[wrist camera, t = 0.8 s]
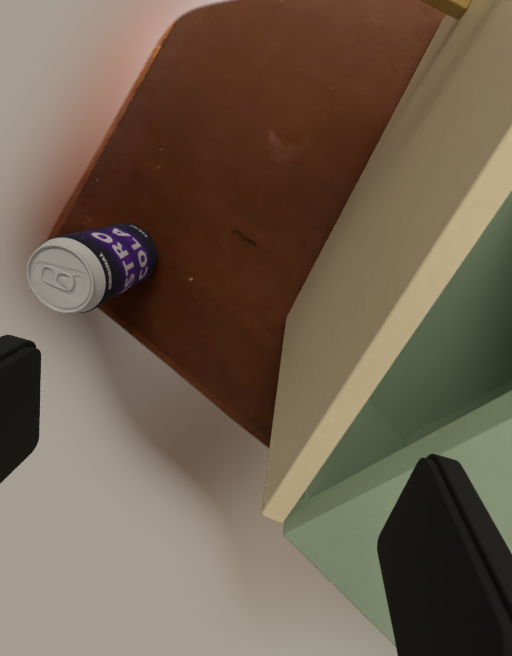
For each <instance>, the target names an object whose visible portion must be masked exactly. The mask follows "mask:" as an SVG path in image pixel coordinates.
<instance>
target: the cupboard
mask: <svg viewBox="0 0 512 656" xmlns="http://www.w3.org/2000/svg"><path fill="white" fill-rule="evenodd" d="M430 454H436V455H440V456H444V457H447V458H451V459H454V460H457V461H459V462H460V464H461V465H462V467H463V469H464V470H465V472H466V474H467V476H468V477H469V479H470V481H471V483H472V484H473V486H474V488H475V490H476V491H477V493H478V495H479V497H480V499H481V500H482V502H483V504H484V506H485V507H486V509H487V511H488V513H489V514H490V516H491V518H492V520H493V522H494V523H495V525H496V527H497V529H498V530H499V532H500V534H501V536H502V537H503V539H504V541H505V543H506V544H507V546H508V548H509V550H510V552H511V553H512V191H511V192H510V194H509V195H508V197H507V198H506V200H505V201H504V203H503V204H502V205H501V207H500V208H499V210H498V211H497V213H496V214H495V216H494V217H493V219H492V220H491V221H490V223H489V224H488V226H487V227H486V229H485V230H484V232H483V233H482V235H481V236H480V237H479V239H478V240H477V242H476V243H475V245H474V246H473V248H472V249H471V251H470V252H469V253H468V255H467V256H466V258H465V259H464V261H463V262H462V264H461V265H460V266H459V268H458V269H457V271H456V272H455V274H454V275H453V277H452V278H451V280H450V281H449V282H448V284H447V285H446V287H445V288H444V290H443V291H442V293H441V294H440V296H439V297H438V298H437V300H436V301H435V303H434V304H433V306H432V307H431V309H430V310H429V312H428V313H427V314H426V316H425V317H424V319H423V320H422V322H421V323H420V325H419V326H418V327H417V329H416V330H415V332H414V333H413V335H412V336H411V338H410V339H409V341H408V342H407V343H406V345H405V346H404V348H403V349H402V351H401V352H400V354H399V355H398V357H397V358H396V359H395V361H394V362H393V364H392V365H391V367H390V368H389V370H388V371H387V373H386V374H385V375H384V377H383V378H382V380H381V381H380V383H379V384H378V386H377V387H376V389H375V390H374V391H373V393H372V394H371V396H370V397H369V399H368V400H367V402H366V403H365V404H364V406H363V407H362V409H361V410H360V412H359V413H358V415H357V416H356V418H355V419H354V420H353V422H352V423H351V425H350V426H349V428H348V429H347V431H346V432H345V434H344V435H343V436H342V438H341V439H340V441H339V442H338V444H337V445H336V447H335V448H334V450H333V451H332V452H331V454H330V455H329V457H328V458H327V460H326V461H325V463H324V464H323V465H322V467H321V468H320V470H319V471H318V473H317V474H316V476H315V477H314V479H313V480H312V481H311V483H310V484H309V486H308V487H307V489H306V490H305V492H304V493H303V495H302V496H301V497H300V499H299V500H298V502H297V503H296V505H295V506H294V508H293V509H292V511H291V512H290V513H289V515H288V516H287V518H286V519H285V521H284V532H283V535H284V536H285V537H286V538H287V539H288V540H289V541H290V542H291V543H292V544H293V545H294V546H295V547H296V548H297V549H298V550H299V551H300V552H301V553H302V554H303V555H304V556H305V557H306V558H307V559H308V560H309V561H310V562H311V563H312V564H313V565H314V566H315V567H316V568H317V569H318V570H319V571H320V572H321V573H322V574H323V575H324V576H325V577H326V578H327V579H328V580H329V581H330V582H331V583H332V584H333V585H334V586H335V587H336V588H337V589H338V590H339V591H340V592H341V593H342V594H343V595H344V596H345V597H346V598H347V599H348V600H349V601H350V602H351V603H352V604H353V605H354V606H355V607H356V608H357V609H358V610H359V611H360V612H361V613H362V614H363V615H364V616H365V617H366V618H367V619H369V621H370V622H372V624H373V625H375V627H376V628H377V629H379V630H380V631H381V632H382V633H383V634H384V635H385V636H386V637H387V638H388V639H389V640H390V641H391V642H392V643H393V644H394V645H395V646H396V643H395V638H394V633H393V628H392V623H391V618H390V613H389V608H388V603H387V598H386V593H385V588H384V583H383V578H382V573H381V568H380V563H379V558H378V553H377V541H378V537H379V535H380V533H381V531H382V529H383V527H384V525H385V523H386V521H387V519H388V517H389V515H390V513H391V512H392V510H393V508H394V506H395V504H396V502H397V500H398V498H399V496H400V494H401V493H402V491H403V489H404V487H405V485H406V483H407V481H408V479H409V477H410V475H411V473H412V472H413V470H414V468H415V466H416V464H417V462H418V461H419V459H420V458H423V457H424V458H427V456H428V455H430Z"/></svg>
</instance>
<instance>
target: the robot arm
mask: <svg viewBox="0 0 512 656" xmlns="http://www.w3.org/2000/svg"><path fill="white" fill-rule="evenodd" d="M40 374H41V353H40V351H39V350H38V349H36V345H35V343H34V342H32V341H29V340H26V339H23V338H18V337H15V336H12V335H5V336H2V337H0V483H1V482H2V481H3V480H4V479H5V478H6V477H7V476H8V475H9V474H10V473H11V472H12V471H13V470H14V469H15V468H17V467H18V466H19V465H20V464H21V463H22V462H23V461H24V460H25V459H26V458H27V457H28V456H29V455H30V454H31V453H32V452H33V450H34V449H35V447H36V445H37V443H38V440H39V418H40ZM377 553H378V558H379V563H380V568H381V573H382V578H383V583H384V588H385V593H386V598H387V603H388V608H389V613H390V618H391V623H392V628H393V633H394V638H395V643H396V648H397V653H398V656H512V553H511V552H510V550H509V548H508V546H507V544H506V543H505V541H504V539H503V537H502V536H501V534H500V532H499V530H498V529H497V527H496V525H495V523H494V522H493V520H492V518H491V516H490V514H489V513H488V511H487V509H486V507H485V506H484V504H483V502H482V500H481V499H480V497H479V495H478V493H477V491H476V490H475V488H474V486H473V484H472V483H471V481H470V479H469V477H468V476H467V474H466V472H465V470H464V469H463V467H462V465H461V464H460V462H459V461H457V460H454V459H451V458H447V457H444V456H440V455H436V454H430V455H428V456H427V458H424V457H423V458H420V459H419V461H418V462H417V464H416V466H415V468H414V470H413V472H412V473H411V475H410V477H409V479H408V481H407V483H406V485H405V487H404V489H403V491H402V493H401V494H400V496H399V498H398V500H397V502H396V504H395V506H394V508H393V510H392V512H391V513H390V515H389V517H388V519H387V521H386V523H385V525H384V527H383V529H382V531H381V533H380V535H379V537H378V541H377Z"/></svg>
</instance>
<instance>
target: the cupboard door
mask: <svg viewBox="0 0 512 656" xmlns="http://www.w3.org/2000/svg"><path fill="white" fill-rule="evenodd" d="M420 1H422V2H424V3H426V4H428V5H430V6H432V7H434V8H436V9H438V10H439V11H441V12H443V13H445V14H447V15H446V16H445V17H444V18H443V20H442V22H441V23H440V25H439V27H438V29H437V31H436V33H435V35H434V37H433V39H432V41H431V43H430V44H429V46H428V48H427V50H426V52H425V54H424V56H423V58H422V60H421V62H420V64H419V65H418V67H417V69H416V71H415V73H414V75H413V77H412V79H411V81H410V83H409V85H408V86H407V88H406V90H405V92H404V94H403V96H402V98H401V100H400V102H399V104H398V106H397V107H396V109H395V111H394V113H393V115H392V117H391V119H390V121H389V123H388V125H387V127H386V128H385V130H384V132H383V134H382V136H381V138H380V140H379V142H378V144H377V146H376V148H375V149H374V151H373V153H372V155H371V157H370V159H369V161H368V163H367V165H366V167H365V169H364V170H363V172H362V174H361V176H360V178H359V180H358V182H357V184H356V186H355V188H354V190H353V191H352V193H351V195H350V197H349V199H348V201H347V203H346V205H345V207H344V209H343V211H342V212H341V214H340V216H339V218H338V220H337V222H336V224H335V226H334V228H333V230H332V232H331V233H330V235H329V237H328V239H327V241H326V243H325V245H324V247H323V249H322V251H321V253H320V254H319V256H318V258H317V260H316V262H315V264H314V266H313V268H312V270H311V272H310V274H309V275H308V277H307V279H306V281H305V283H304V285H303V287H302V289H301V291H300V293H299V294H298V296H297V298H296V300H295V302H294V304H293V306H292V308H291V310H290V312H289V314H288V315H287V317H286V324H285V332H284V340H283V348H282V355H281V363H280V371H279V379H278V386H277V394H276V402H275V410H274V417H273V425H272V433H271V441H270V448H269V457H268V464H267V472H266V480H265V487H264V495H263V503H262V510H261V515H262V516H265V517H267V518H269V519H271V520H274V521H276V522H278V523H280V524H282V523H283V522H284V521H285V519H286V518H287V516H288V515H289V513H290V512H291V511H292V509H293V508H294V506H295V505H296V503H297V502H298V500H299V499H300V497H301V496H302V495H303V493H304V492H305V490H306V489H307V487H308V486H309V484H310V483H311V481H312V480H313V479H314V477H315V476H316V474H317V473H318V471H319V470H320V468H321V467H322V465H323V464H324V463H325V461H326V460H327V458H328V457H329V455H330V454H331V452H332V451H333V450H334V448H335V447H336V445H337V444H338V442H339V441H340V439H341V438H342V436H343V435H344V434H345V432H346V431H347V429H348V428H349V426H350V425H351V423H352V422H353V420H354V419H355V418H356V416H357V415H358V413H359V412H360V410H361V409H362V407H363V406H364V404H365V403H366V402H367V400H368V399H369V397H370V396H371V394H372V393H373V391H374V390H375V389H376V387H377V386H378V384H379V383H380V381H381V380H382V378H383V377H384V375H385V374H386V373H387V371H388V370H389V368H390V367H391V365H392V364H393V362H394V361H395V359H396V358H397V357H398V355H399V354H400V352H401V351H402V349H403V348H404V346H405V345H406V343H407V342H408V341H409V339H410V338H411V336H412V335H413V333H414V332H415V330H416V329H417V327H418V326H419V325H420V323H421V322H422V320H423V319H424V317H425V316H426V314H427V313H428V312H429V310H430V309H431V307H432V306H433V304H434V303H435V301H436V300H437V298H438V297H439V296H440V294H441V293H442V291H443V290H444V288H445V287H446V285H447V284H448V282H449V281H450V280H451V278H452V277H453V275H454V274H455V272H456V271H457V269H458V268H459V266H460V265H461V264H462V262H463V261H464V259H465V258H466V256H467V255H468V253H469V252H470V251H471V249H472V248H473V246H474V245H475V243H476V242H477V240H478V239H479V237H480V236H481V235H482V233H483V232H484V230H485V229H486V227H487V226H488V224H489V223H490V221H491V220H492V219H493V217H494V216H495V214H496V213H497V211H498V210H499V208H500V207H501V205H502V204H503V203H504V201H505V200H506V198H507V197H508V195H509V194H510V192H511V191H512V0H420Z"/></svg>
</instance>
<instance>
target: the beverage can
mask: <svg viewBox="0 0 512 656" xmlns="http://www.w3.org/2000/svg"><path fill="white" fill-rule="evenodd" d="M156 264H157V250H156V246H155V244H154V242H153V240H152V238H151V237H150V236H149V235H148V233H147V232H145V231H144V230H143V229H142V228H140V227H138V226H136V225H133V224H128V223H122V224H116V225H112V226H107V227H102V228H97V229H92V230H87V231H82V232H77V233H72V234H67V235H62V236H57V237H53V238H51V239H49V240H47V241H45V242H44V243H43V244H42V245H41V246H40V247H39V248H38V249H37V250H36V251H34V253H33V254H32V255H31V257H30V258H29V261H28V264H27V278H28V282H29V285H30V287H31V289H32V291H33V293H34V294H35V296H36V297H37V298H38V299H39V300H40V301H41V302H42V303H43V304H44V305H46V306H47V307H48V308H50V309H52V310H55V311H57V312H61V313H83V312H88V311H91V310H93V309H95V308H96V307H98V306H100V305H101V304H103V303H105V302H107V301H108V300H110V299H112V298H113V297H115V296H117V295H119V294H120V293H122V292H124V291H125V290H127V289H129V288H131V287H132V286H134V285H136V284H137V283H139V282H141V281H143V280H144V279H146V278H147V277H149V276H150V275H151V274H152V272H153V271H154V269H155V267H156Z"/></svg>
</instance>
